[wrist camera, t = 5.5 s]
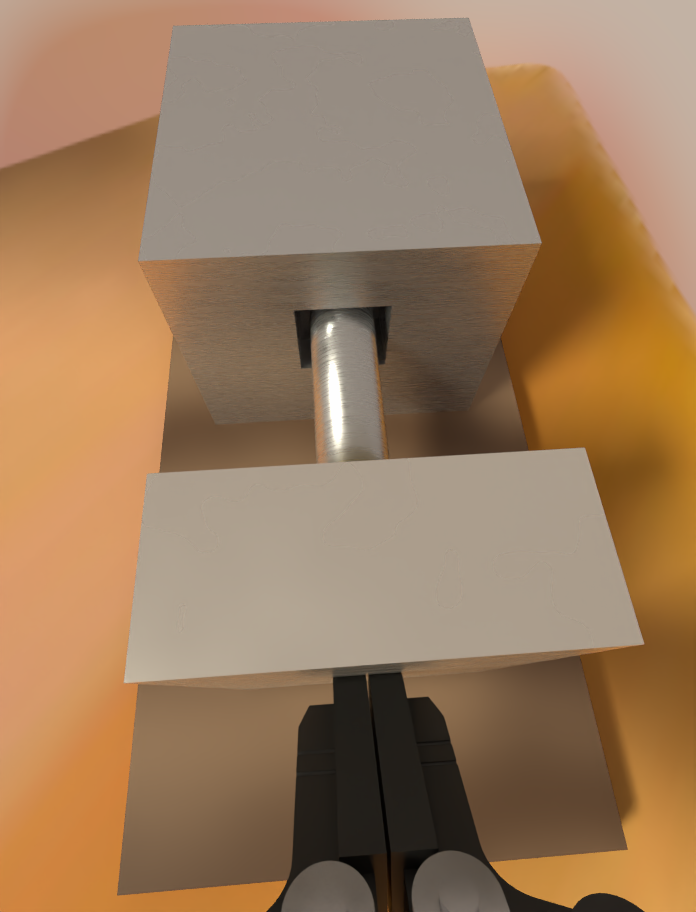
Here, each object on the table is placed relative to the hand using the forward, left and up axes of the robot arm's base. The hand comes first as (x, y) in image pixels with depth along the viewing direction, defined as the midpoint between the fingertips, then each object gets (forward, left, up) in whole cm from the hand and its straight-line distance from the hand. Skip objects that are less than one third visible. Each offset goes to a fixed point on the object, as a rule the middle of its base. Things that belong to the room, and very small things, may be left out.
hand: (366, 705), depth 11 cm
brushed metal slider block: (-6, +9, -5) cm, 12 cm away
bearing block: (-9, +13, -5) cm, 16 cm away
